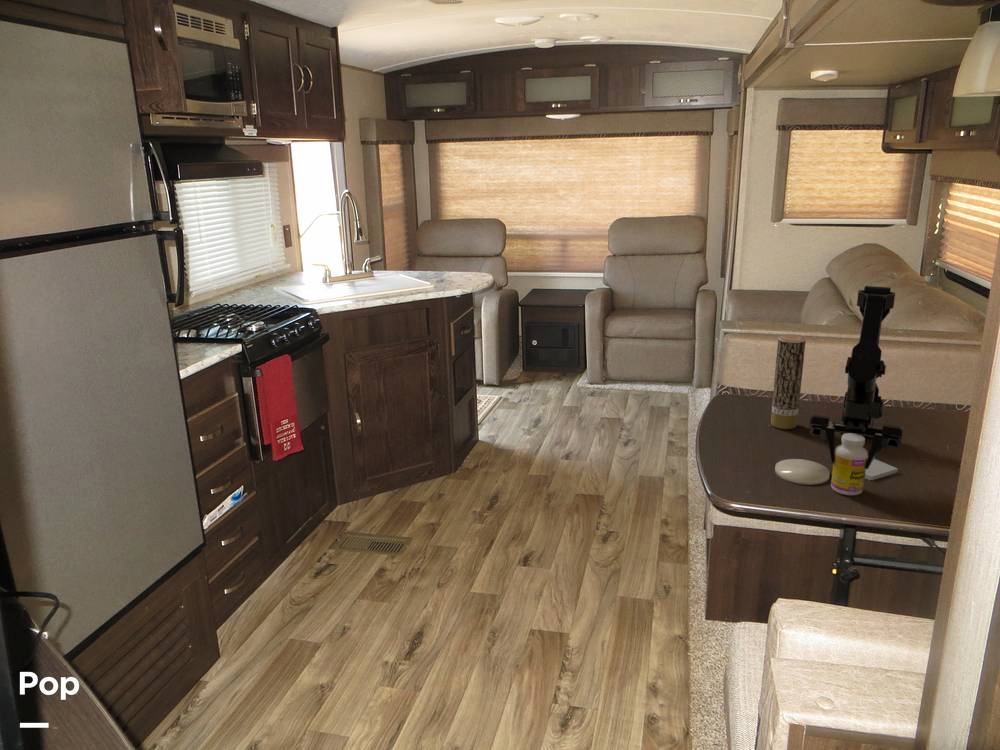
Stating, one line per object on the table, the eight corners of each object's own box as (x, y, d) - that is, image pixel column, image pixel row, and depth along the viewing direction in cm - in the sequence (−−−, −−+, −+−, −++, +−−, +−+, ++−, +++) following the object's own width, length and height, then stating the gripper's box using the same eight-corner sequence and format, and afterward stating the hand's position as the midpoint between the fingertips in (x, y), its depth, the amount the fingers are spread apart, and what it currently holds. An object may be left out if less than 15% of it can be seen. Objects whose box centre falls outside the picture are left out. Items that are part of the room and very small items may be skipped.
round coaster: (800, 459, 187) (800, 455, 186) (840, 477, 176) (841, 473, 176) (763, 469, 182) (764, 465, 181) (803, 489, 171) (803, 485, 171)
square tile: (864, 458, 186) (865, 454, 185) (897, 472, 178) (897, 468, 178) (838, 466, 182) (839, 462, 182) (870, 480, 174) (871, 476, 174)
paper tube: (774, 419, 212) (782, 333, 204) (799, 424, 208) (808, 336, 200) (767, 427, 207) (774, 338, 199) (792, 432, 203) (801, 342, 195)
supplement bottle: (847, 499, 166) (854, 445, 162) (824, 486, 172) (830, 434, 168) (869, 492, 169) (876, 439, 165) (845, 481, 174) (852, 429, 170)
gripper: (814, 381, 171) (803, 444, 165) (908, 392, 162) (899, 458, 156) (815, 403, 180) (804, 463, 174) (904, 414, 171) (895, 478, 165)
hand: (849, 465), depth 167 cm, fingers closed on supplement bottle, 7 cm apart
